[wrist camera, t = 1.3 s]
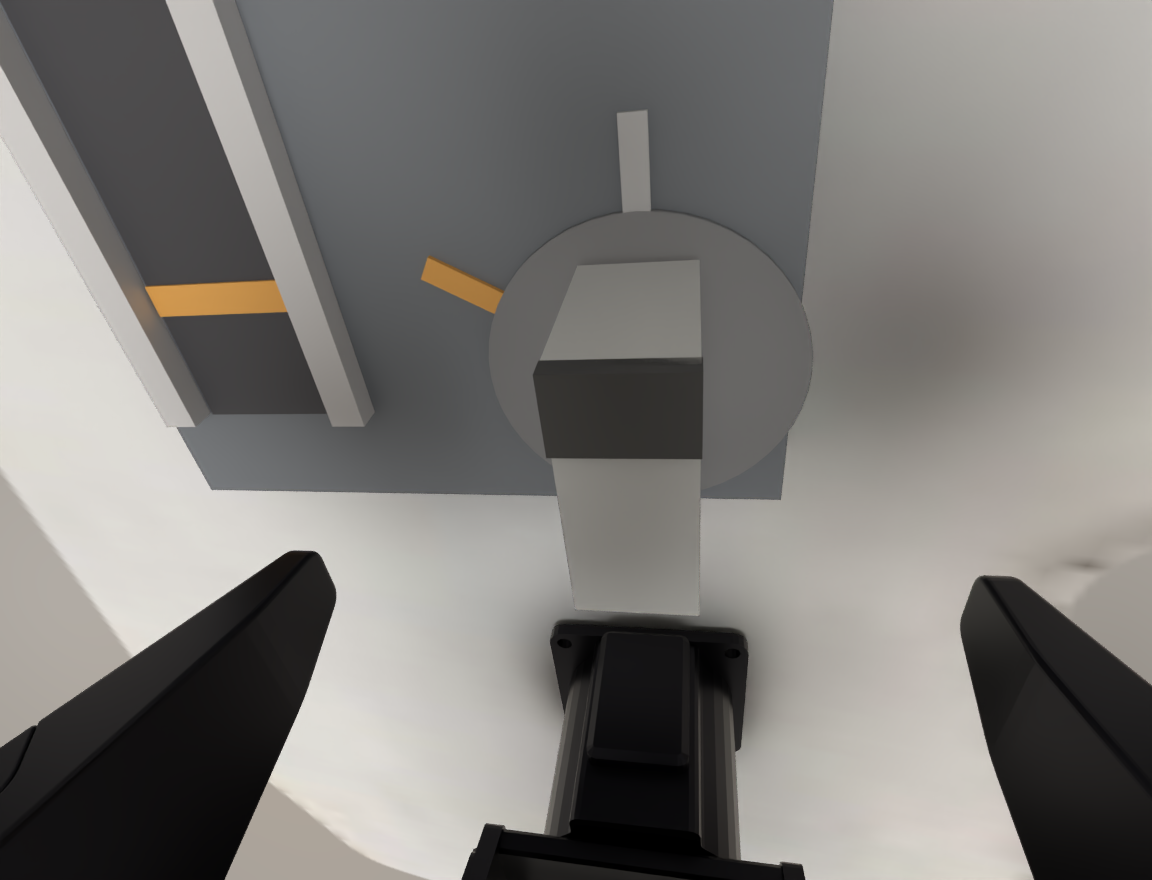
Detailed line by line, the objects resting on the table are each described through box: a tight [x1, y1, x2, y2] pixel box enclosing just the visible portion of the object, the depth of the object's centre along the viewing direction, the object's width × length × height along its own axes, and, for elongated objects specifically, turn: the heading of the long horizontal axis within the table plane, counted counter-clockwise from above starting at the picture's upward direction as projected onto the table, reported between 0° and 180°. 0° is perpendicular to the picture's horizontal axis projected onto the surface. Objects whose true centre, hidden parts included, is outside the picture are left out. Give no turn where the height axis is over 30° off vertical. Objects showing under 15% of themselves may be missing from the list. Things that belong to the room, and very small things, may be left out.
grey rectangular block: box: [533, 260, 703, 616], centre depth 11 cm, size 5×2×4 cm, turn 6°
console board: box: [0, 0, 834, 500], centre depth 12 cm, size 17×15×3 cm
